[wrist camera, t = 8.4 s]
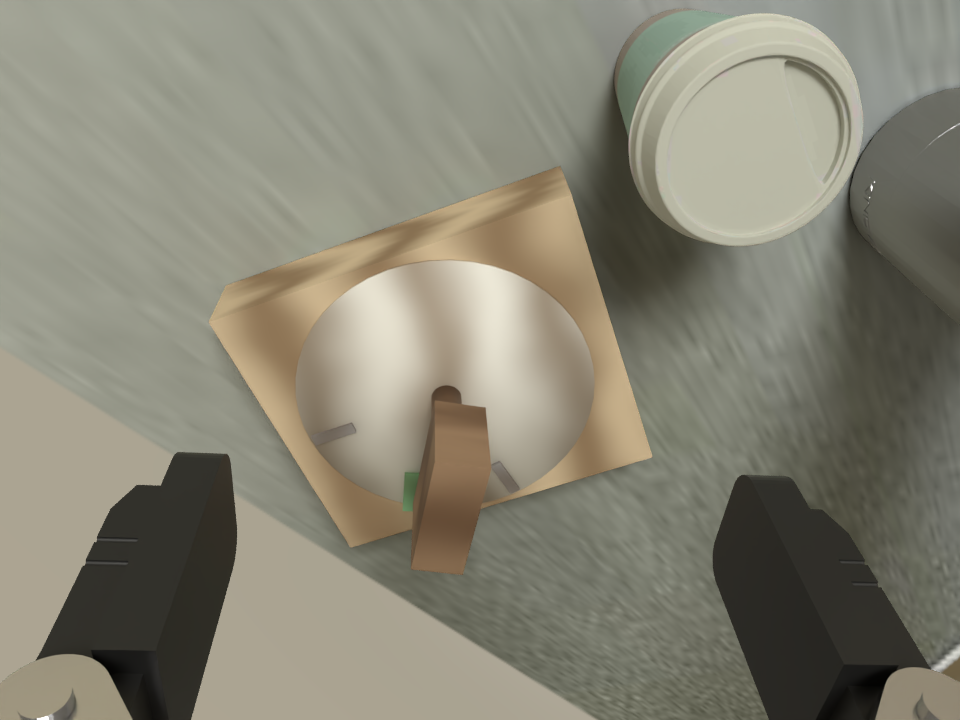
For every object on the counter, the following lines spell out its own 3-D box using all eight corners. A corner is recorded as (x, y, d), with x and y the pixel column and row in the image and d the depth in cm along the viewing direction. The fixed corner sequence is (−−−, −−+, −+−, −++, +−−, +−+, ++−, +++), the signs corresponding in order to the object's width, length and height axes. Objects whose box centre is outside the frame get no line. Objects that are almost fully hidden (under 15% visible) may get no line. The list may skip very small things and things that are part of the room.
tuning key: (434, 344, 41) (434, 461, 33) (480, 351, 42) (491, 468, 34) (403, 500, 47) (396, 632, 39) (443, 505, 47) (445, 637, 39)
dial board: (560, 166, 41) (572, 197, 37) (637, 415, 50) (654, 461, 46) (225, 285, 44) (206, 326, 40) (355, 502, 52) (350, 552, 49)
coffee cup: (738, 163, 41) (836, 265, 31) (574, 154, 41) (621, 255, 31) (783, -18, 37) (916, 32, 27) (600, -32, 36) (665, 14, 26)
